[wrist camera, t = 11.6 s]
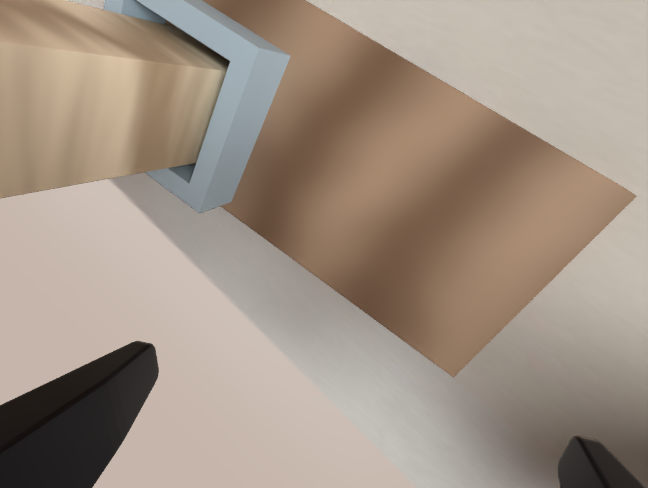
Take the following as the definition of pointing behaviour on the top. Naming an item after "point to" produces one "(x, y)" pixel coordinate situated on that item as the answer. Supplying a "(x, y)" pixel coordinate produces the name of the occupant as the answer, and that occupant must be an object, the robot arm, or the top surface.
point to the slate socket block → (233, 101)
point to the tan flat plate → (407, 187)
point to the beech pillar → (97, 95)
